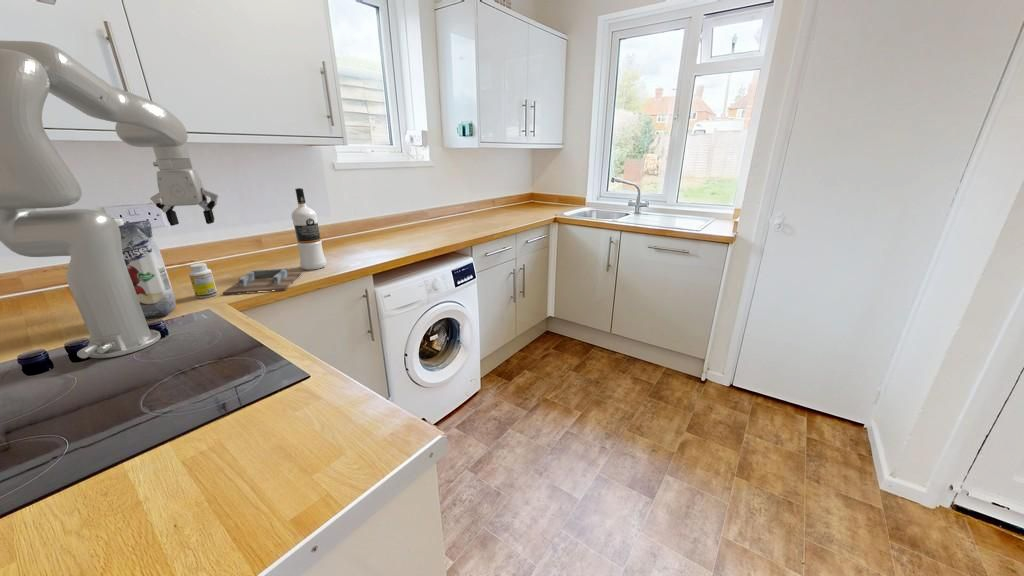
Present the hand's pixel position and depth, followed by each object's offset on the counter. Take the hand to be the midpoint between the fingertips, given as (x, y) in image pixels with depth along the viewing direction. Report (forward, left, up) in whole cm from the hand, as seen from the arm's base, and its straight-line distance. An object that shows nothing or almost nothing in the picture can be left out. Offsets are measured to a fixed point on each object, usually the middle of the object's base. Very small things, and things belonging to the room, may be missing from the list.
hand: (192, 224), depth 119 cm
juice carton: (-18, +7, -22) cm, 29 cm away
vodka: (+22, -25, -22) cm, 40 cm away
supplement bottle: (-4, 0, -22) cm, 23 cm away
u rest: (+4, -14, -22) cm, 27 cm away
